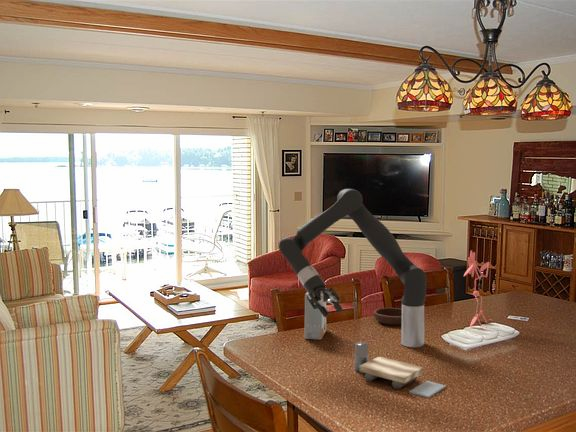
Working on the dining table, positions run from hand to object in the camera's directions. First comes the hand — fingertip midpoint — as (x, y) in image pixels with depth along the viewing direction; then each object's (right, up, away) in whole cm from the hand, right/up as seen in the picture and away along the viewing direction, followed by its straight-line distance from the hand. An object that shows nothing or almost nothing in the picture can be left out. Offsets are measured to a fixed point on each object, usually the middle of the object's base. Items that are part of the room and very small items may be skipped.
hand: (334, 313), depth 222 cm
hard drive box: (-5, -16, +38) cm, 42 cm away
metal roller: (+10, -20, -7) cm, 23 cm away
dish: (+33, -14, +58) cm, 68 cm away
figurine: (+68, -14, +53) cm, 88 cm away
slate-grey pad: (+29, -21, -25) cm, 44 cm away
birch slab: (+19, -21, -17) cm, 32 cm away
